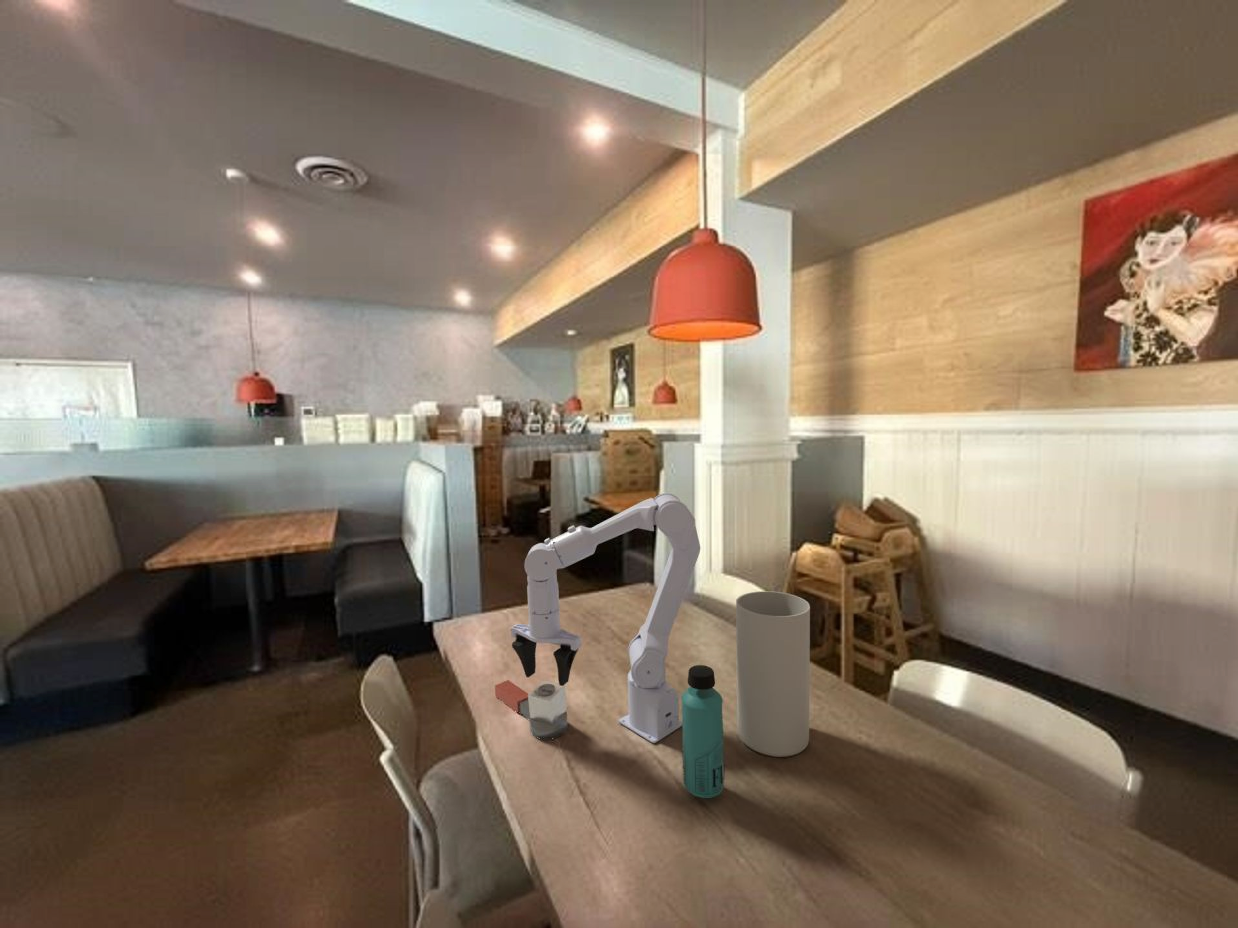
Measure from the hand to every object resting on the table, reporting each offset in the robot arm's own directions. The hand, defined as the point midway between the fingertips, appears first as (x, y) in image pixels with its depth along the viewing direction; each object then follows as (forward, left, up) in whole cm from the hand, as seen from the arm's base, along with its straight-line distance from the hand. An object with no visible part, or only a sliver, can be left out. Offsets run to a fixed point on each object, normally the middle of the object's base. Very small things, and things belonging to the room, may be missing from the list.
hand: (547, 678), depth 97 cm
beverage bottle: (-31, -7, -10) cm, 33 cm away
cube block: (0, 0, -7) cm, 7 cm away
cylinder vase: (-31, -27, -10) cm, 43 cm away
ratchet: (+7, 0, -10) cm, 12 cm away
